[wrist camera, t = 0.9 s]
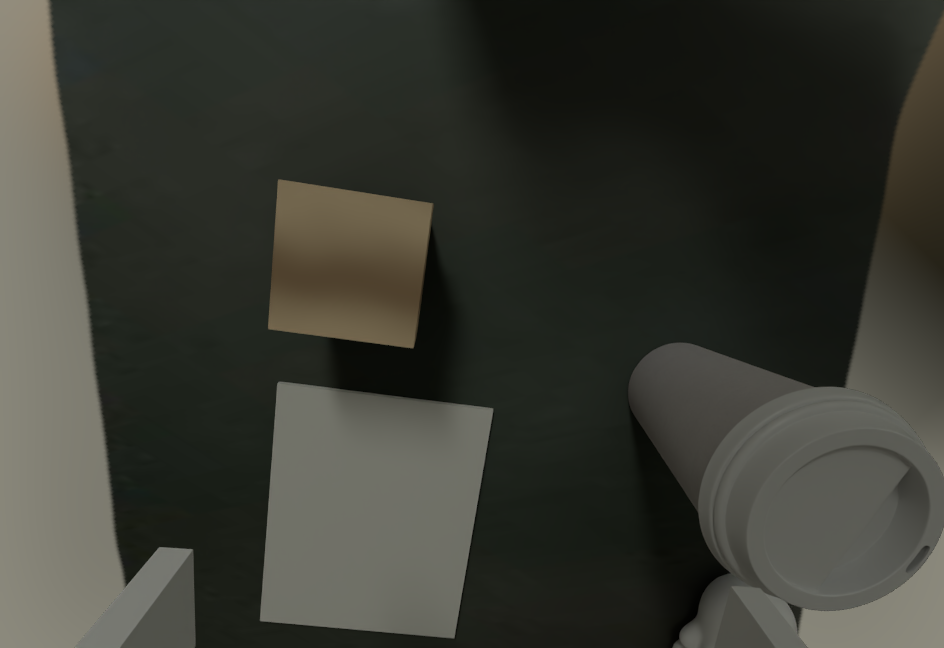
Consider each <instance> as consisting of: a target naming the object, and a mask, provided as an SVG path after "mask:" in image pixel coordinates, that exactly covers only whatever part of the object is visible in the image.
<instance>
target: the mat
mask: <svg viewBox="0 0 944 648" xmlns="http://www.w3.org/2000/svg"><path fill="white" fill-rule="evenodd" d="M492 415H493V408H486V407H478V406H470V405H462V404H454V403H446V402H438V401H431V400H423V399H415V398H407V397H399V396H391V395H383V394H375V393H367V392H359V391H351V390H343V389H335V388H327V387H320V386H312V385H304V384H296V383H288V382H279V383H278V384H277V397H276V411H275V424H274V438H273V451H272V465H271V478H270V492H269V506H268V519H267V533H266V546H265V560H264V573H263V587H262V601H261V614H260V621H266V622H277V623H288V624H299V625H310V626H322V627H333V628H344V629H355V630H366V631H377V632H388V633H399V634H411V635H422V636H433V637H444V638H454V637H455V631H456V625H457V620H458V614H459V608H460V602H461V596H462V590H463V584H464V579H465V573H466V567H467V561H468V555H469V549H470V544H471V538H472V532H473V526H474V520H475V514H476V509H477V503H478V497H479V491H480V485H481V479H482V474H483V468H484V462H485V456H486V450H487V444H488V438H489V433H490V427H491V421H492Z"/></svg>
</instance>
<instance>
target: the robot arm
mask: <svg viewBox="0 0 944 648" xmlns="http://www.w3.org/2000/svg"><path fill="white" fill-rule="evenodd" d="M194 647H195V608H194V566H193V550H192V549H178V548H163V547H159V548H158V550H157V551H156V552H155V553H154V554H153V555H152V557H151V558H150V559H149V560H148V561H147V563H146V564H145V565H144V566H143V567H142V568H141V570H140V571H139V572H138V573H137V574H136V575H135V577H134V578H133V579H132V580H131V581H130V583H129V584H128V585H127V586H126V587H125V588H124V590H123V591H122V592H121V593H120V594H119V596H118V597H117V598H116V599H115V600H114V602H113V603H112V604H111V605H110V606H109V607H108V608H107V610H106V611H105V612H104V613H103V614H102V616H101V617H100V618H99V619H98V620H97V621H96V623H95V624H94V625H93V626H92V627H91V629H90V630H89V631H88V632H87V633H86V635H85V636H84V637H83V638H82V639H81V640H80V641H79V643H78V644H77V645H76V646H75V647H74V648H194ZM714 648H807V646H806V645H805V644H804V642H803V641H802V640H801V639H800V637H799V636H798V635H797V634H796V632H795V631H794V630H793V629H792V627H791V626H790V625H789V624H788V622H787V621H786V620H785V619H784V617H783V616H782V615H781V614H780V612H779V611H778V610H777V608H776V607H775V606H774V605H773V603H772V602H771V601H770V600H769V598H768V597H767V596H766V595H765V593H764V592H763V591H762V590H761V588H754V587H739V586H731V587H730V591H729V595H728V598H727V602H726V606H725V610H724V613H723V617H722V621H721V624H720V628H719V632H718V636H717V639H716V643H715V647H714Z"/></svg>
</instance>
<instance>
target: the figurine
mask: <svg viewBox="0 0 944 648" xmlns="http://www.w3.org/2000/svg"><path fill="white" fill-rule="evenodd" d="M731 586H739V587H751V586H749V585H747V584H746V583H744V582H743V581H741V580H740V579H738V578H737V577H736V576H734V575H733V574H725V575H722V576H720V577H718V578H716V579H715V580H713V581H712V582H711V583H710V584H709V585H708V586H707V588H706V589H705V591H704V592H703V594H702V597H701V599H700V602H699V607H698V613H697V616H696V617H695V618H694V619H693V620H692V621H691V622H689V623H688V624H686V625H685V626H684V627H683V628H682V629H681V631H680V634H679V640H677V641H676V642H675V643H674V645H673V647H672V648H714V647H715V643H716V639H717V636H718V632H719V628H720V624H721V621H722V617H723V613H724V610H725V606H726V602H727V598H728V595H729V591H730V587H731ZM765 595H766V596H767V597H768V598H769V600H770V601H771V602H772V603H773V605H774V606H775V607H776V608H777V610H778V611H779V612H780V614H781V615H782V616H783V617H784V619H785V620H786V621H787V622H788V624H789V625H790V626H791V627H792V629H793V630H794V631H795V632H796V634H797V625H796V621H795V618H794V615H793V613H792V611H791V609H790V607H789V605H788V604H787V603H786V601H784V600H782V599H780V598H777V597H774V596H771V595H768V594H766V593H765Z"/></svg>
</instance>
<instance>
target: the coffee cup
mask: <svg viewBox="0 0 944 648" xmlns="http://www.w3.org/2000/svg"><path fill="white" fill-rule="evenodd" d="M628 400H629V405H630V408H631V410H632V412H633V414H634V416H635V417H636V419H637V420H638V422H639V423H640V425H641V426H642V428H643V429H644V431H645V432H646V434H647V435H648V437H649V438H650V440H651V441H652V443H653V444H654V446H655V447H656V449H657V450H658V452H659V453H660V455H661V456H662V458H663V460H664V461H665V463H666V464H667V466H668V467H669V469H670V470H671V472H672V473H673V475H674V476H675V478H676V479H677V481H678V482H679V484H680V485H681V487H682V488H683V490H684V492H685V493H686V495H687V496H688V498H689V499H690V501H691V502H692V504H693V505H694V507H695V508H696V510H697V512H698V514H699V522H700V527H701V531H702V534H703V537H704V539H705V542H706V544H707V546H708V548H709V549H710V551H711V553H712V554H713V555H714V557H715V558H716V559H717V561H718V562H719V563H720V564H721V565H722V566H723V567H724V568H725V569H726V570H728V571H729V572H730V573H731V574H733V575H734V576H736V577H737V578H738V579H740V580H741V581H743V582H744V583H746V584H747V585H749V586H751V587H754V588H761V590H762V591H763V592H764V593H766V594H768V595H771V596H774V597H777V598H780V599H782V600H784V601H786V602H788V603H790V604H792V605H795V606H798V607H801V608H805V609H811V610H819V611H836V610H844V609H850V608H854V607H858V606H861V605H865V604H867V603H870V602H873V601H875V600H877V599H879V598H881V597H883V596H885V595H887V594H889V593H890V592H892V591H894V590H895V589H897V588H898V587H899V586H901V585H902V584H903V583H905V582H906V581H907V580H908V579H909V578H910V577H912V576H913V575H914V574H915V573H916V572H917V571H918V570H919V568H920V567H921V566H922V565H923V564H924V563H925V561H926V560H927V559H928V557H929V555H930V554H931V553H932V551H933V550H934V548H935V546H936V544H937V542H938V540H939V538H940V536H941V533H942V530H943V527H944V477H943V474H942V472H941V470H940V468H939V466H938V464H937V463H936V461H935V460H934V458H933V457H932V456H931V455H930V453H929V452H928V451H927V450H926V448H925V446H924V444H923V442H922V441H921V439H920V438H919V436H918V435H917V434H916V432H915V431H914V430H913V429H912V427H911V426H910V425H909V424H908V423H907V422H906V421H905V420H904V419H903V418H902V417H901V416H900V415H899V414H898V413H897V412H895V411H894V410H893V409H892V408H891V407H889V406H888V405H887V404H885V403H884V402H882V401H881V400H879V399H877V398H875V397H873V396H871V395H868V394H866V393H863V392H860V391H857V390H853V389H848V388H841V387H816V388H815V387H812V386H809V385H807V384H804V383H801V382H798V381H795V380H792V379H789V378H786V377H784V376H781V375H778V374H775V373H772V372H769V371H767V370H764V369H761V368H758V367H755V366H753V365H750V364H747V363H744V362H741V361H739V360H736V359H733V358H730V357H727V356H725V355H722V354H719V353H716V352H713V351H711V350H708V349H705V348H702V347H699V346H697V345H693V344H689V343H671V344H667V345H664V346H661V347H659V348H657V349H655V350H653V351H651V352H650V353H649V354H647V355H646V356H645V357H644V358H643V359H642V360H641V361H640V362H639V363H638V365H637V366H636V368H635V369H634V371H633V373H632V375H631V378H630V381H629V386H628Z"/></svg>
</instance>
